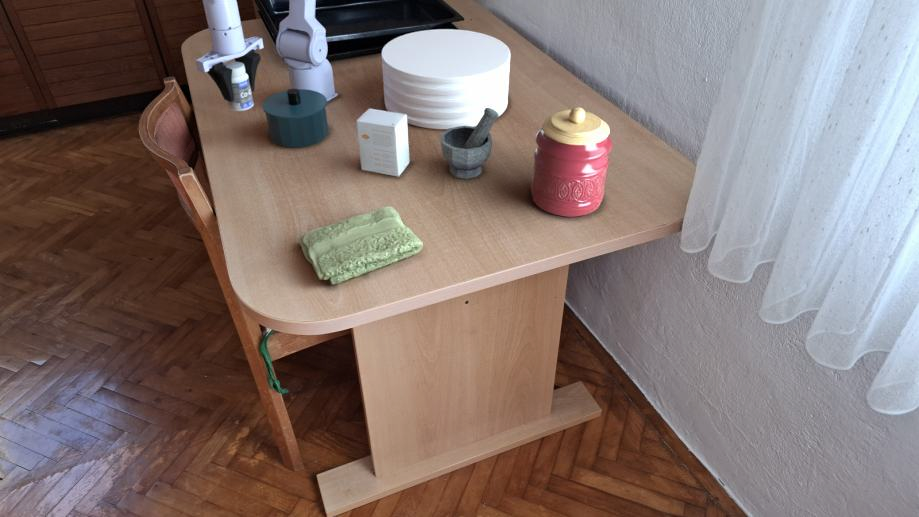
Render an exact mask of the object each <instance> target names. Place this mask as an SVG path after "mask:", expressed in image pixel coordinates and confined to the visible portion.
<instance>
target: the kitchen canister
mask: <svg viewBox="0 0 919 517" xmlns="http://www.w3.org/2000/svg"><path fill="white" fill-rule="evenodd" d="M610 132H611V131H610V126H609V124H607V122H606V121H605V120H603V119H601V118H600V117H599V116H598V115H596V114H594V113H592V112H590V111H586V110H584V108H582V107H580V106H575V107H573V108H572V109H565V110H560V111H557V112H556V113H553V114H551V115H549V116H547V117H546V118H544V119H543V121H542V123H541V128H540V129H539V130H538V131H537V133H536V134H535V143H536V146H537V148H535V150H534V152H533V158H534V162H533V172H532V173H533V175H532V180H531V184H530V192H531V199H532V201H533V202H534V204H535V205H536V206H537V207H539V208H540V209H541V210H543V211H544V212H547V213H549V214H551V215H552V214H553V215H556V216H559V217H569V218H571V217H574V218H575V217H582V216H586V215H589V214H591V213H593V212H595V211H596V210H597V209H599V207H600V206H601V203H602V201H603V199H604V194H605V184H606V178H607V172H608V167H609V166H610V157H609V155H608V154H609V153H610V151H611V150H612V148H613V140H612V137H611V136H610Z"/></svg>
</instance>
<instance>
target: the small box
mask: <svg viewBox="0 0 919 517" xmlns="http://www.w3.org/2000/svg"><path fill="white" fill-rule="evenodd" d="M355 121H356V122H355V124H356V134H357V142H358V152H359V161H360V170H362V171H366V172H372V173H378V174H381V175H388V176H393V177H398V178H399V177H400V176H401V175H402V173H403V172H404V171H405V169H406V168H407V167H408V166H409V164H410V162H411V161H410V148H409V145H410V144H409V130H408V128H409V127H408V126H409V125H408V123H407V115H406V114H401V113H395V112H388V110H381V109H375V108H370V107H369V108H368V109H367V110H365V111H364V113H362V114H361V115H360V117H359V118H357V119H356V120H355Z"/></svg>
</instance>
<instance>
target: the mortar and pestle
mask: <svg viewBox="0 0 919 517" xmlns="http://www.w3.org/2000/svg"><path fill="white" fill-rule="evenodd" d="M498 116H499V114H498V113H497V112H496V111H495V110H493V109H491V108H486V109H485V110H484V115H483V116H482V118H481V120H480V121H479V123H478V124H477V126H474V127H471V126H459V127H454V128H449V129H445V131H444V132H442V133H441V134H440V147H441V149H440V150H441V154H442V157H443V159H444V160H445V162H446V163H447V164H449V173H450V174H451V175H453V176H454V177H456V178H460V179H471V178H472V179H473V178H477V177H478V176H479V175H480V174H481V173H482V165H483V164H484V163H486V162H487V160H488V159H489V157H490V156H491V153H492V149H493V139H492V138H493V137H492V134H491V132H490V131H491V129H492V127H493V125H494V123H495V121H496V120H497V119H499V117H500V116H499V117H498Z"/></svg>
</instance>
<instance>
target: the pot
mask: <svg viewBox="0 0 919 517" xmlns="http://www.w3.org/2000/svg"><path fill="white" fill-rule="evenodd" d="M265 117H266V122H267V127H268V133H269V137H270V139H271V142H273V144H276V145H278V146H279V147H284V148H290V149H291V148H292V149H297V148H299V149H300V148H305V147H306V148H307V147H311V146H314V145H316V144H319V143H321V142H322V141H324V140H325V139H326V138H327V137H328V135H329V124H328V117H327V106H326V107H325V109H324V110H322V111H321V112H319V113H318V114H315V115H313V116H310V117H306V118H301V119H279V118H274V117H271V116H269V115H267V114H266V113H265Z"/></svg>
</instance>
